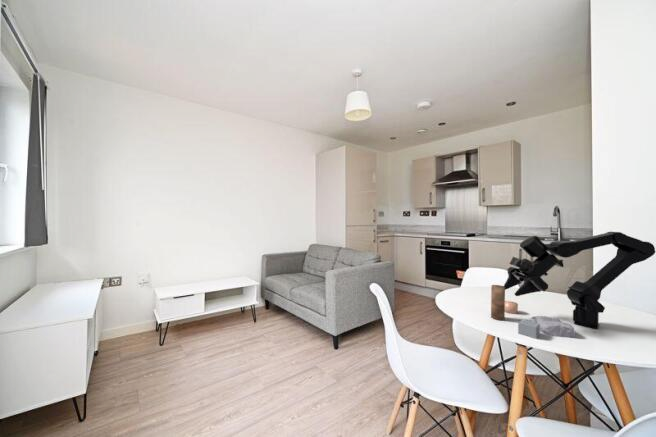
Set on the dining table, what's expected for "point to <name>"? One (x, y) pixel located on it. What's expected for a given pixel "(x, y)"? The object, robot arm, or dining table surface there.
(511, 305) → the peach rounded knob part
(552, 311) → the dining table surface
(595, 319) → the robot arm
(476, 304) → the dining table surface
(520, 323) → the grey faceted polyhedron
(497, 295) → the walnut post
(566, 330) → the stone block
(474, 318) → the dining table surface
